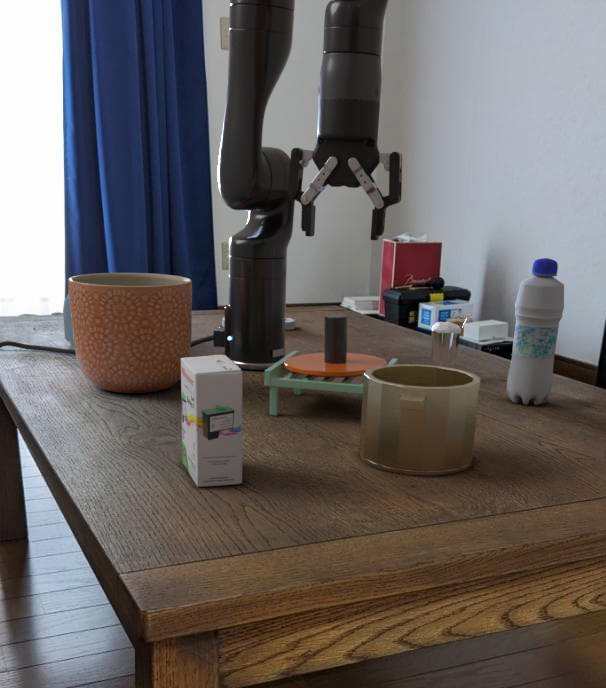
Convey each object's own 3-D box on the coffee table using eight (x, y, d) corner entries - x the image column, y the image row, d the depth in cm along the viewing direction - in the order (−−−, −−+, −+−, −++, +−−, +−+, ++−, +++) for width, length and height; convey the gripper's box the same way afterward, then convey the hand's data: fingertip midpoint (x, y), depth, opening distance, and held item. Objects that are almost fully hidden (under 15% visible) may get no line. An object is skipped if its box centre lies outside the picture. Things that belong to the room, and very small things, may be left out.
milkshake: (460, 384, 140) (467, 319, 136) (426, 382, 141) (431, 317, 137) (461, 378, 144) (468, 315, 140) (428, 376, 145) (433, 313, 141)
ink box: (180, 463, 98) (178, 354, 93) (225, 460, 99) (225, 353, 95) (196, 488, 90) (194, 371, 86) (243, 485, 92) (244, 370, 87)
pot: (345, 476, 95) (350, 387, 92) (374, 433, 112) (379, 356, 108) (465, 488, 93) (474, 398, 89) (476, 443, 109) (484, 365, 105)
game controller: (294, 325, 188) (294, 316, 188) (296, 336, 177) (296, 326, 176) (223, 323, 188) (223, 314, 187) (219, 334, 176) (219, 324, 175)
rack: (263, 415, 118) (264, 370, 116) (292, 391, 132) (293, 350, 129) (377, 426, 115) (380, 380, 112) (395, 400, 128) (398, 358, 126)
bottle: (552, 399, 132) (572, 257, 125) (548, 409, 126) (569, 261, 119) (506, 394, 134) (523, 255, 127) (500, 404, 128) (518, 258, 121)
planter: (158, 405, 121) (154, 289, 115) (51, 391, 126) (42, 280, 121) (212, 381, 136) (212, 277, 130) (115, 370, 141) (110, 270, 136)
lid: (272, 378, 117) (271, 321, 114) (298, 359, 129) (297, 307, 126) (377, 383, 113) (379, 325, 111) (393, 363, 126) (395, 310, 123)
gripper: (412, 102, 111) (400, 239, 117) (300, 98, 114) (295, 233, 120) (403, 97, 104) (391, 243, 110) (285, 93, 107) (280, 236, 113)
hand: (341, 238), depth 115 cm, fingers open, 8 cm apart
